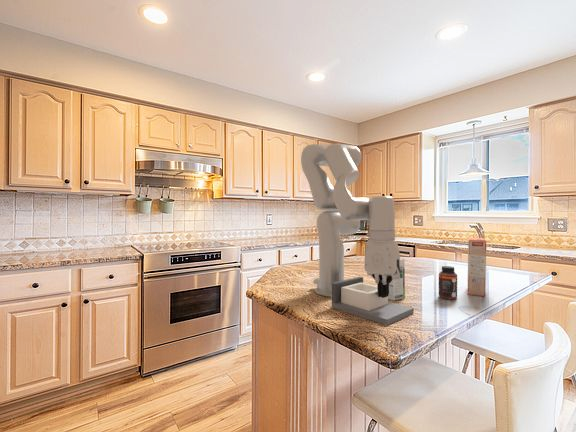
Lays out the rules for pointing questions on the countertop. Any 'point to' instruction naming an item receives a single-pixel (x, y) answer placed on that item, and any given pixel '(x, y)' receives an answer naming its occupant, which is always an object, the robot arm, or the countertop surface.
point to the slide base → (380, 314)
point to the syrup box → (398, 285)
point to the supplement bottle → (448, 283)
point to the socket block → (362, 296)
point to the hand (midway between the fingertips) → (383, 296)
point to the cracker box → (477, 266)
